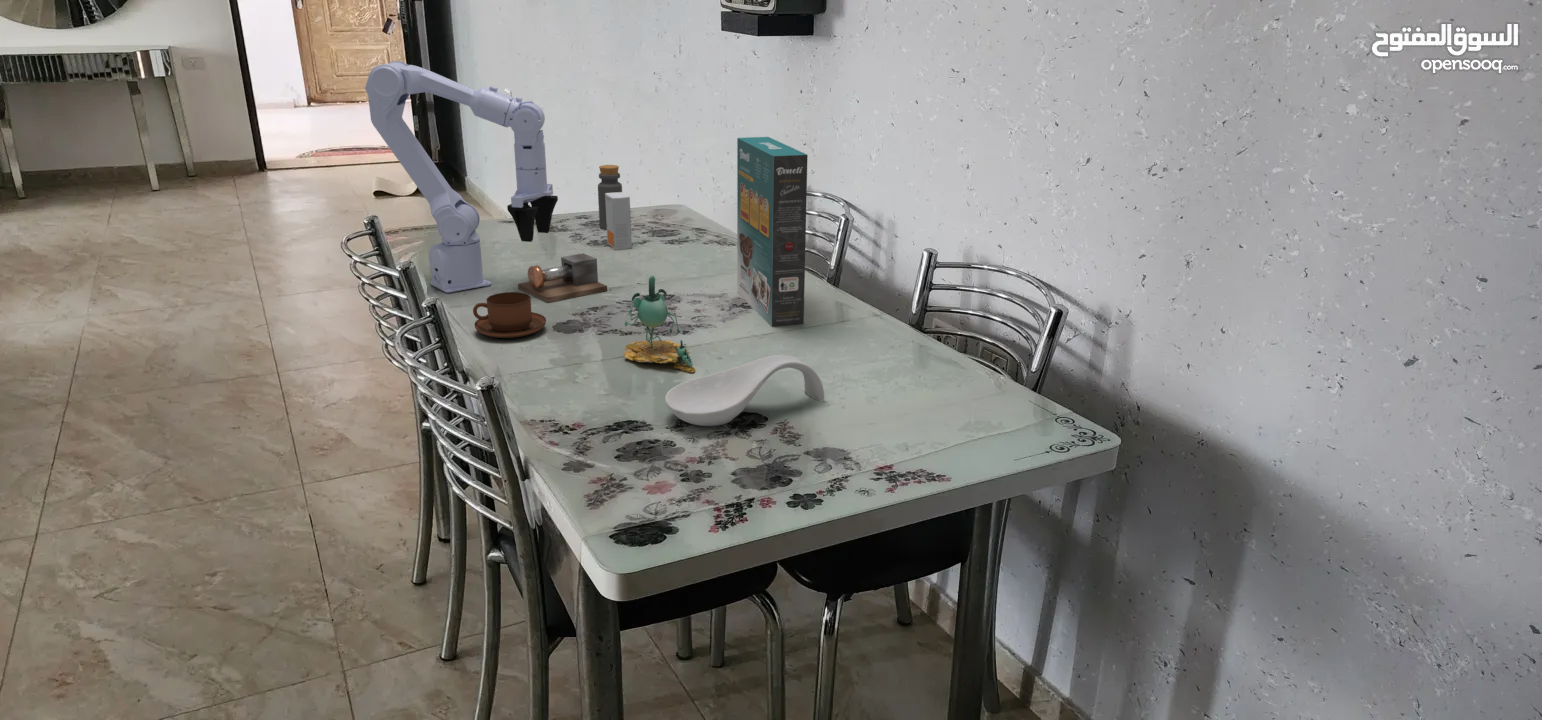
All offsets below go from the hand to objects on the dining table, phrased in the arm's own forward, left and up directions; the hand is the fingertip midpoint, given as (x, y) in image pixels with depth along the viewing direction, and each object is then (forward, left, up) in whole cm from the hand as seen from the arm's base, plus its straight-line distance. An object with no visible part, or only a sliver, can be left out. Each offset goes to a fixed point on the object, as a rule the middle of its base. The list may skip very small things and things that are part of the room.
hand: (535, 236), depth 200 cm
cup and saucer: (-18, -24, -10) cm, 31 cm away
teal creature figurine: (-6, -51, -10) cm, 52 cm away
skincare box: (+29, +16, -10) cm, 35 cm away
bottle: (+38, +34, -10) cm, 52 cm away
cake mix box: (+26, -41, -10) cm, 49 cm away
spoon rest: (-8, -76, -10) cm, 77 cm away
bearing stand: (+2, -7, -10) cm, 12 cm away
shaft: (0, -7, -8) cm, 11 cm away
